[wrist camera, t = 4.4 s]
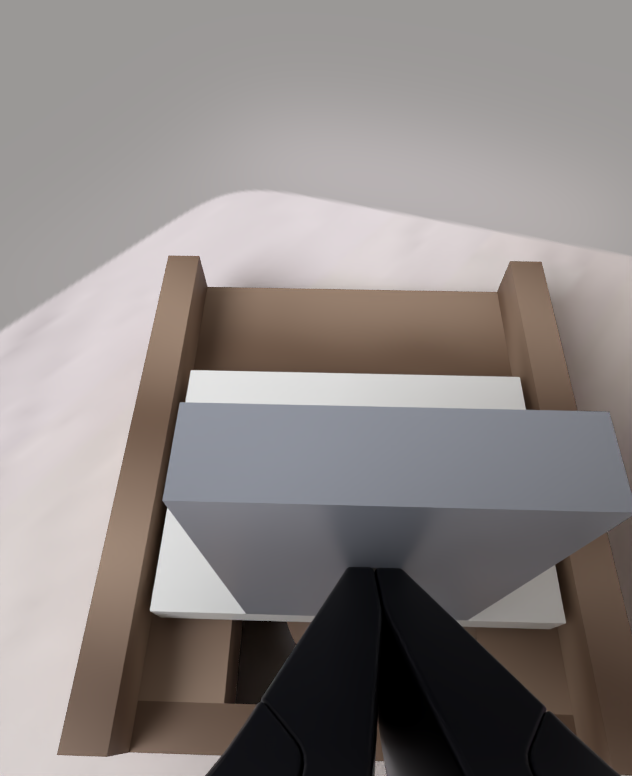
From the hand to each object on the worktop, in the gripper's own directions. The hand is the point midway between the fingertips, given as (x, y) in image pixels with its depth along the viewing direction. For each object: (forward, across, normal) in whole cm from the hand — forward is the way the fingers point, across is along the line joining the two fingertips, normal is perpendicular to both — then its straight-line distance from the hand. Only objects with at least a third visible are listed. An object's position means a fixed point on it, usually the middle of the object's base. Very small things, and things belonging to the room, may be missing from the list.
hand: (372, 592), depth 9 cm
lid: (+6, 0, +1) cm, 6 cm away
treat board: (+8, 0, +2) cm, 9 cm away
